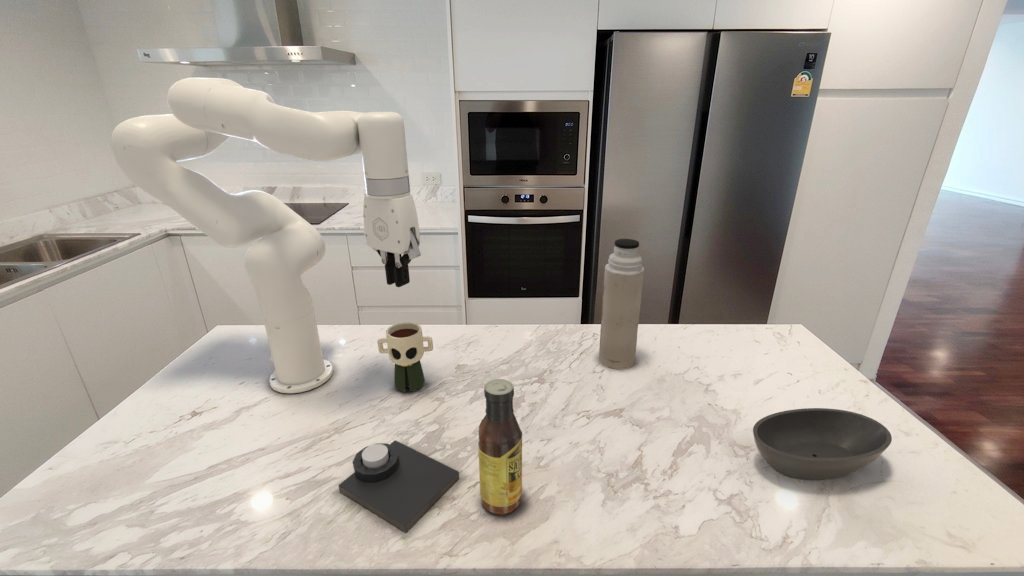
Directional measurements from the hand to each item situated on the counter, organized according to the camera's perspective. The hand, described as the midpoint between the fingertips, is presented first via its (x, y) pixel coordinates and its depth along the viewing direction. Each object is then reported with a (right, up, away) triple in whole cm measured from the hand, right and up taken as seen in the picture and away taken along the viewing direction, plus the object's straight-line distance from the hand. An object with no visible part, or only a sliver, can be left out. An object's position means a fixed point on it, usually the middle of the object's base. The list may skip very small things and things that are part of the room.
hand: (398, 283), depth 91 cm
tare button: (0, -28, -15) cm, 32 cm away
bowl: (+71, -30, -13) cm, 78 cm away
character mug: (0, -21, +9) cm, 23 cm away
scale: (+4, -32, -16) cm, 36 cm away
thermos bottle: (+45, -17, +17) cm, 52 cm away
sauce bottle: (+20, -33, -19) cm, 43 cm away
